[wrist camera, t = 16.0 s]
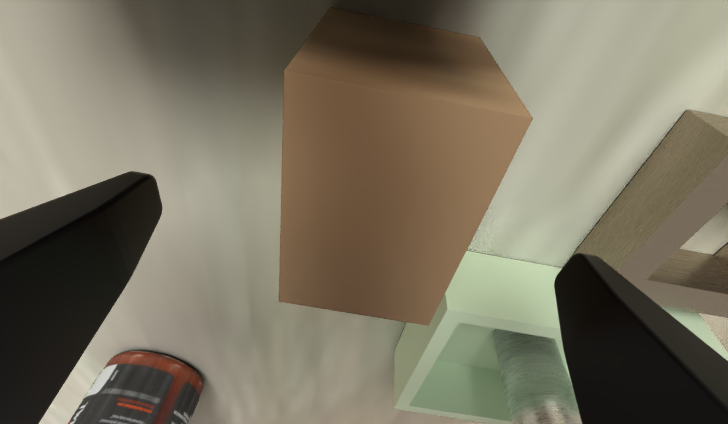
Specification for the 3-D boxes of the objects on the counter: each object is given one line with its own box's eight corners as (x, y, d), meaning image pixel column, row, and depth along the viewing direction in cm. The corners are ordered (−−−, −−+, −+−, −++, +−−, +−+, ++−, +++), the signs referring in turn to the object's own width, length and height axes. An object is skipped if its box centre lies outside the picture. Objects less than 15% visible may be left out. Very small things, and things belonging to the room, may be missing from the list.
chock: (479, 36, 10) (532, 118, 6) (420, 208, 13) (428, 326, 10) (331, 6, 9) (284, 70, 6) (313, 189, 13) (278, 301, 9)
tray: (680, 289, 15) (731, 357, 13) (573, 380, 20) (596, 440, 18) (439, 246, 14) (447, 309, 12) (394, 350, 20) (393, 408, 17)
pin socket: (880, 148, 11) (961, 188, 9) (717, 278, 14) (755, 322, 13) (687, 109, 10) (737, 143, 9) (574, 253, 14) (595, 294, 13)
